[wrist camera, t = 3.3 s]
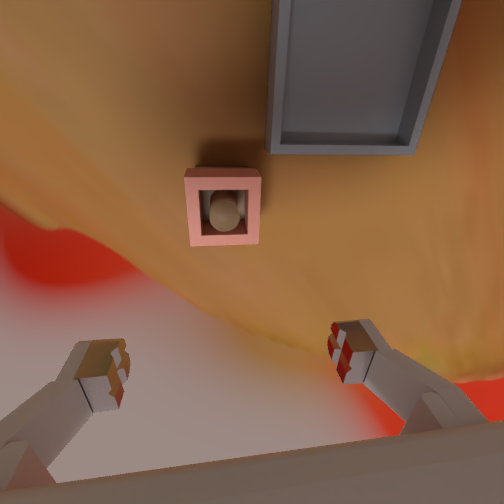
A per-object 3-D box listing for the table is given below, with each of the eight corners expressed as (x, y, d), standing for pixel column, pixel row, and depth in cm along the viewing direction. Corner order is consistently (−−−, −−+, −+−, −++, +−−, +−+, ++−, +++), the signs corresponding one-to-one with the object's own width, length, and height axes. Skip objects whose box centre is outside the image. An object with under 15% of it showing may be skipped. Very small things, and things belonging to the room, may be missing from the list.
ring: (256, 168, 24) (261, 177, 21) (254, 229, 27) (258, 244, 24) (187, 168, 23) (184, 177, 21) (192, 231, 26) (190, 246, 24)
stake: (246, 166, 27) (256, 187, 21) (245, 213, 29) (254, 244, 23) (195, 166, 26) (190, 187, 20) (198, 214, 29) (195, 246, 23)
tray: (446, -35, 21) (479, -54, 18) (395, 149, 28) (413, 155, 25) (274, -53, 19) (284, -76, 17) (264, 148, 26) (270, 154, 24)
